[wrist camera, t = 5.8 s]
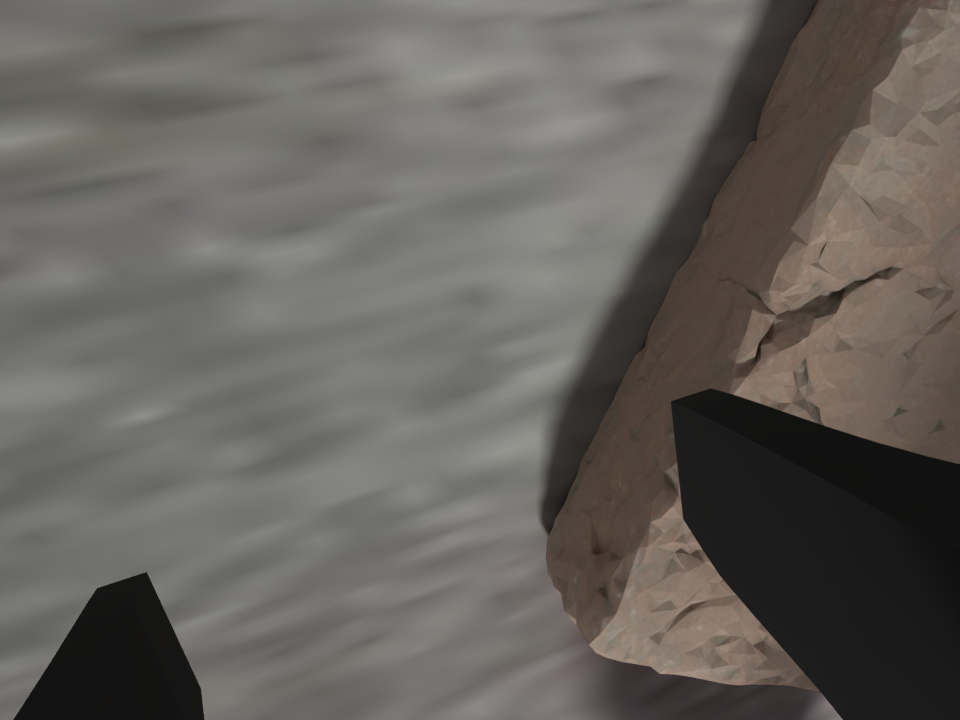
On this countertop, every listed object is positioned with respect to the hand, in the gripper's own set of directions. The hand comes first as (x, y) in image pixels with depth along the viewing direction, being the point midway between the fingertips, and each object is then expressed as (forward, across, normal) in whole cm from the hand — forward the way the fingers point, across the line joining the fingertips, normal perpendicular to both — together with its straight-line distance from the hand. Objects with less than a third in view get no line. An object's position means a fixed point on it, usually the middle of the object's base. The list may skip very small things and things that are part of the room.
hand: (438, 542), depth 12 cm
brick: (+10, -11, +4) cm, 15 cm away
